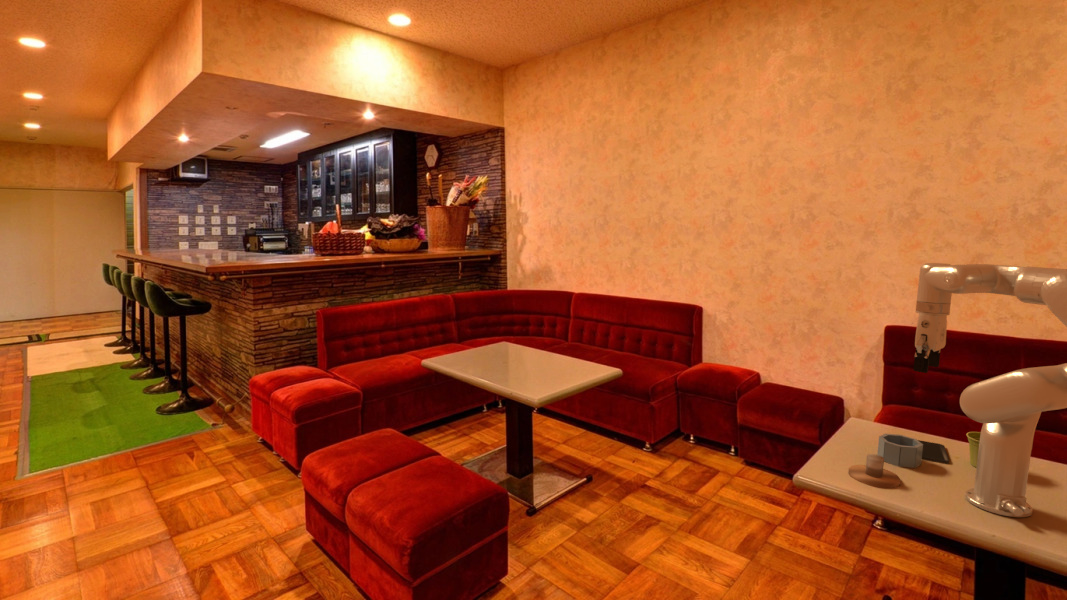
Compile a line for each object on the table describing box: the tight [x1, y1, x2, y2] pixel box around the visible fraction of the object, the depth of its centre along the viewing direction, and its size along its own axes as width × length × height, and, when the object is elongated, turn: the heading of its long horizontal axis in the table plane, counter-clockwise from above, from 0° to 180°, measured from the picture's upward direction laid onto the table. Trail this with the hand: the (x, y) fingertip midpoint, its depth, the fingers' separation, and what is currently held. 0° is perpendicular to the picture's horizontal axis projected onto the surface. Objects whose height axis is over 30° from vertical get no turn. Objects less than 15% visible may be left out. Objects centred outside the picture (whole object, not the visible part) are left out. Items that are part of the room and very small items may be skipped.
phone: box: [917, 439, 950, 465], centre depth 163 cm, size 8×1×15 cm
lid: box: [847, 453, 901, 489], centre depth 146 cm, size 12×12×6 cm
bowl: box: [876, 433, 923, 469], centre depth 158 cm, size 10×10×6 cm
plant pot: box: [965, 431, 981, 468], centre depth 153 cm, size 9×9×9 cm
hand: (926, 368), depth 149 cm, fingers open, 9 cm apart
